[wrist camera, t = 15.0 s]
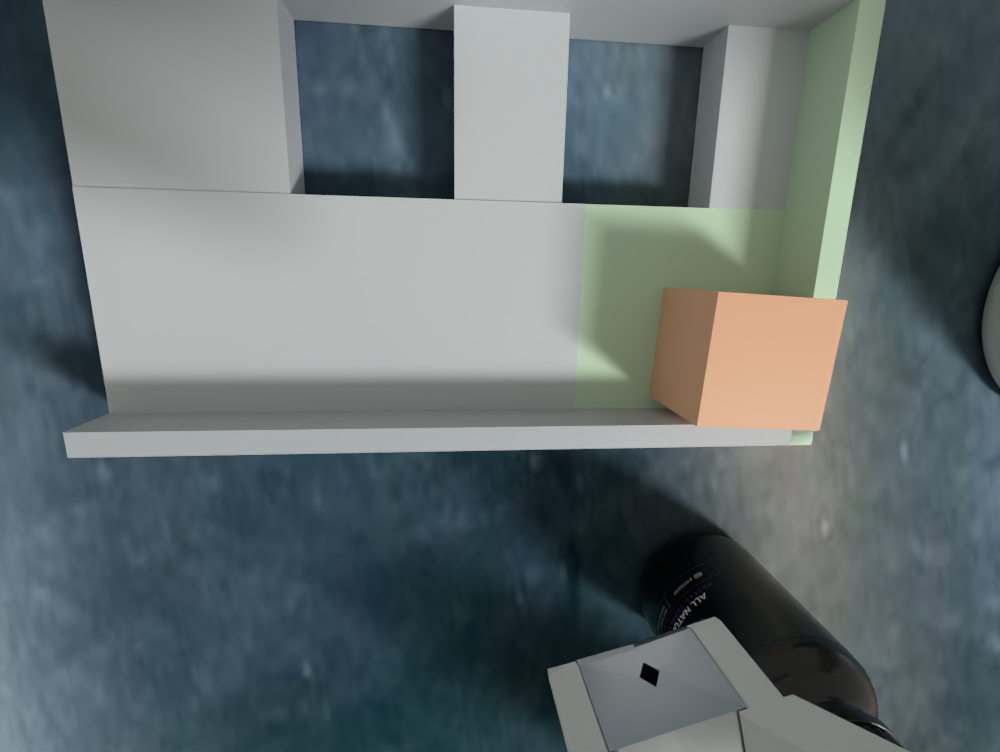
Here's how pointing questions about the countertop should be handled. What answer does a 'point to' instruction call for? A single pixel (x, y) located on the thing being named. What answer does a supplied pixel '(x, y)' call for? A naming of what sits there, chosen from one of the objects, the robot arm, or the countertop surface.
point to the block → (746, 358)
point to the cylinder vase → (992, 328)
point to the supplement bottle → (758, 624)
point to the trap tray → (432, 225)
